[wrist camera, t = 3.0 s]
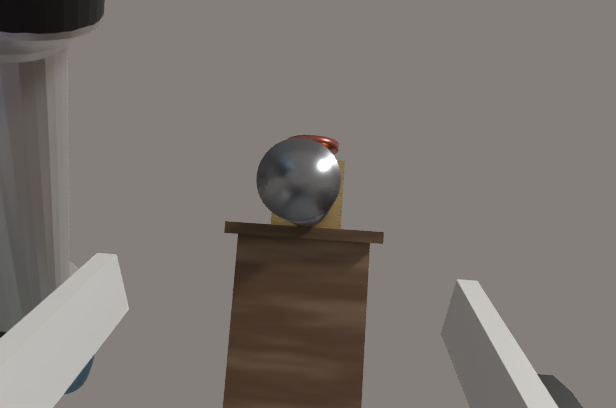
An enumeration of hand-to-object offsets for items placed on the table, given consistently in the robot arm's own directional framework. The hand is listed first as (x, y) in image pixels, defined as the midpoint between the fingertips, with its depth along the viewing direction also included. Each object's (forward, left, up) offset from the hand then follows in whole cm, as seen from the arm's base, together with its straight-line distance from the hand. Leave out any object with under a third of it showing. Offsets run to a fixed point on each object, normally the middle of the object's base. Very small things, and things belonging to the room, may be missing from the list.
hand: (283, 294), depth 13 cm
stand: (-20, +12, -27) cm, 36 cm away
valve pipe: (-14, +8, +3) cm, 16 cm away
